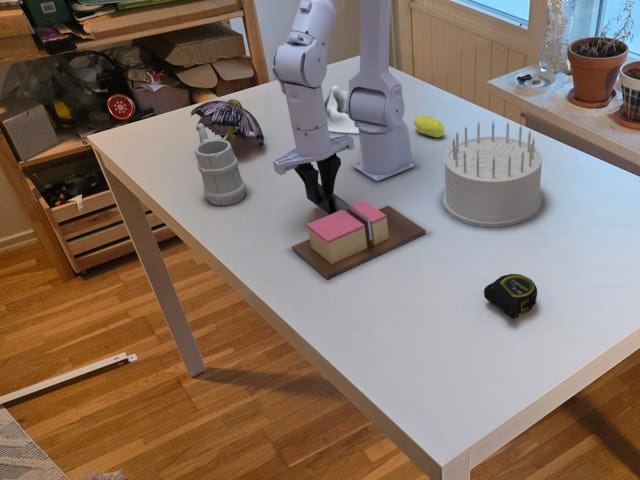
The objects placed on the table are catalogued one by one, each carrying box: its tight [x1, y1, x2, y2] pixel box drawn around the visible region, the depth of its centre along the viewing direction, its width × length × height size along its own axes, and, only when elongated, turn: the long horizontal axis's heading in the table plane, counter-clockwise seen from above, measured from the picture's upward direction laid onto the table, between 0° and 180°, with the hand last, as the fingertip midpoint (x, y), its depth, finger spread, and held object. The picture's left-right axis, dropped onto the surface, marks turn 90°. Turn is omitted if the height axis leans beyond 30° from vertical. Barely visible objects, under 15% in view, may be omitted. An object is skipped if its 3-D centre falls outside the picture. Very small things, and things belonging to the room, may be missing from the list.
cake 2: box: [442, 120, 543, 228], centre depth 115 cm, size 18×18×13 cm
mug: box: [194, 123, 247, 207], centre depth 120 cm, size 8×12×12 cm, turn 33°
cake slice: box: [351, 200, 389, 245], centre depth 109 cm, size 3×6×4 cm, turn 40°
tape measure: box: [483, 273, 538, 320], centre depth 96 cm, size 7×7×4 cm
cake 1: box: [306, 210, 367, 264], centre depth 107 cm, size 7×6×4 cm
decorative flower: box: [190, 98, 265, 151], centre depth 134 cm, size 15×12×15 cm
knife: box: [304, 182, 372, 240], centre depth 111 cm, size 2×19×4 cm, turn 40°
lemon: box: [413, 115, 445, 138], centre depth 139 cm, size 4×8×4 cm, turn 45°
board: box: [291, 205, 426, 280], centre depth 110 cm, size 20×11×1 cm, turn 130°
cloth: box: [323, 85, 359, 135], centre depth 147 cm, size 22×19×6 cm
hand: (322, 198), depth 114 cm, fingers closed on knife, 2 cm apart
